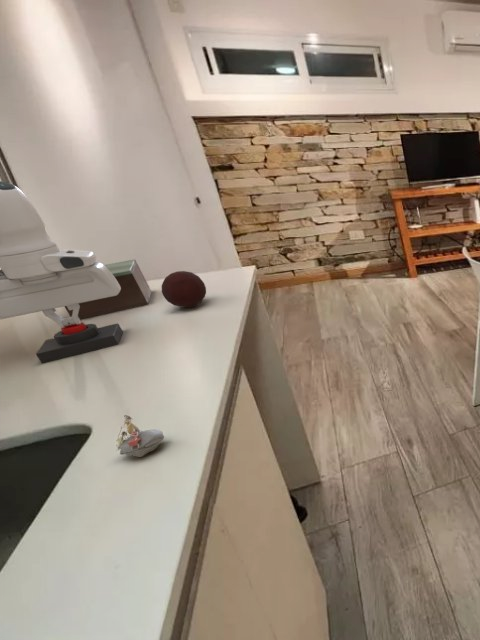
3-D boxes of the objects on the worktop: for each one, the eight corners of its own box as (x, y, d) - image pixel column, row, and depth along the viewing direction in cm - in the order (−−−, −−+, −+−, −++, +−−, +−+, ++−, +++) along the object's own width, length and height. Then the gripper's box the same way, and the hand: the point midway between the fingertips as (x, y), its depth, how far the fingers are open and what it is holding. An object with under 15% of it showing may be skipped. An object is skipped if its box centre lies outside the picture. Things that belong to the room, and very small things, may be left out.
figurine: (172, 437, 71) (152, 403, 68) (164, 453, 67) (143, 419, 65) (127, 449, 69) (105, 415, 66) (116, 467, 65) (93, 432, 62)
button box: (41, 363, 98) (30, 346, 96) (51, 348, 104) (40, 332, 102) (118, 344, 104) (109, 327, 102) (123, 331, 111) (114, 316, 109)
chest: (148, 304, 127) (131, 272, 123) (73, 320, 119) (52, 287, 116) (151, 291, 137) (136, 262, 133) (82, 306, 129) (64, 275, 126)
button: (63, 338, 100) (58, 331, 100) (67, 333, 103) (62, 325, 102) (86, 333, 102) (82, 325, 101) (89, 328, 105) (85, 320, 104)
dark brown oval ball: (208, 295, 130) (193, 263, 126) (215, 306, 122) (200, 271, 118) (169, 305, 125) (152, 272, 121) (173, 317, 117) (155, 281, 113)
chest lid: (131, 273, 123) (129, 270, 122) (52, 288, 115) (50, 285, 115) (136, 262, 133) (135, 259, 133) (64, 275, 126) (62, 272, 125)
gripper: (-50, 280, 88) (-3, 346, 94) (98, 255, 99) (131, 315, 105) (-38, 273, 93) (6, 336, 99) (102, 250, 103) (134, 308, 109)
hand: (72, 325), depth 102 cm, fingers closed, pressing on button
